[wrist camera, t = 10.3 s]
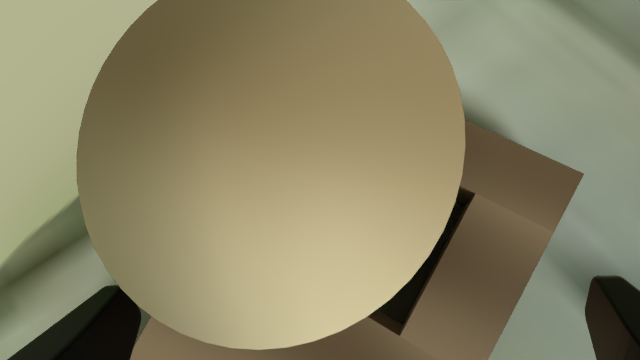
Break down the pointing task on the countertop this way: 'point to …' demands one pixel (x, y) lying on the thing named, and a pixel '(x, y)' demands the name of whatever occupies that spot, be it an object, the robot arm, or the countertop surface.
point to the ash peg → (270, 163)
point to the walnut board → (440, 270)
